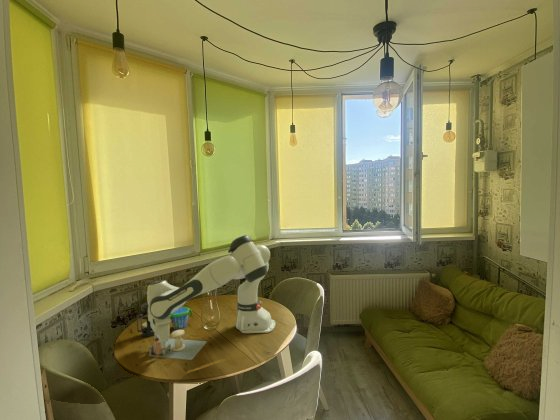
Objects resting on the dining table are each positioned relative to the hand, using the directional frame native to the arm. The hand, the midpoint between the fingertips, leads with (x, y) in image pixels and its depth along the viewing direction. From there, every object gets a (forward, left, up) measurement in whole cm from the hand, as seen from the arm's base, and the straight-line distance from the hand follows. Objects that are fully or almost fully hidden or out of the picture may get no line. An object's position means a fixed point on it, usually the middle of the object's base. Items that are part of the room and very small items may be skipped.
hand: (159, 343), depth 134 cm
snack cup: (+5, -26, -6) cm, 27 cm away
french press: (+17, -16, -6) cm, 24 cm away
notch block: (0, 0, -4) cm, 4 cm away
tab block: (0, 0, -4) cm, 4 cm away
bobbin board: (-7, -4, -6) cm, 10 cm away
